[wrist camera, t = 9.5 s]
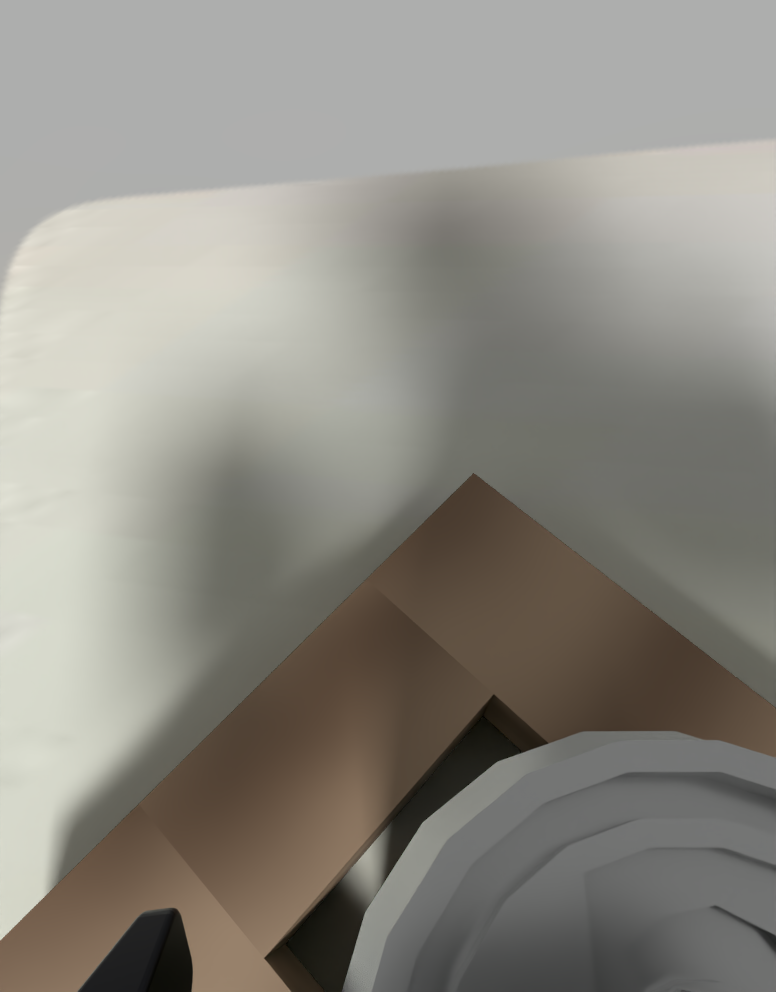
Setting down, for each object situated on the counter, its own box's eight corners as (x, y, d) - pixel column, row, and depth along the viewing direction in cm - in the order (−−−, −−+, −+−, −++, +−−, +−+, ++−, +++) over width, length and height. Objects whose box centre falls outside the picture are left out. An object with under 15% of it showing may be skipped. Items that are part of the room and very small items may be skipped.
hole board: (973, 926, 15) (1070, 937, 13) (565, 1716, 11) (606, 1942, 8) (466, 517, 20) (473, 473, 17) (38, 950, 15) (-26, 965, 13)
